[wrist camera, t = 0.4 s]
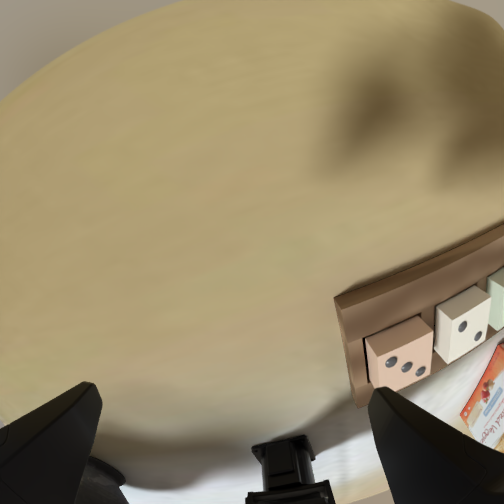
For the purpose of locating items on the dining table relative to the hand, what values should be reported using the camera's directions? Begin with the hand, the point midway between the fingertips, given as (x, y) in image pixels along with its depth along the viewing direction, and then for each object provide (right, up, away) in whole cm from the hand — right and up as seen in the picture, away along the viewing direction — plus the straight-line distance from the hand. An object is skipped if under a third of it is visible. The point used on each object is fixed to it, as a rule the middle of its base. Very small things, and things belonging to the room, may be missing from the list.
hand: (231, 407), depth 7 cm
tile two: (+19, -1, +13) cm, 23 cm away
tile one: (+26, +1, +12) cm, 29 cm away
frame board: (+19, -1, +14) cm, 24 cm away
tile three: (+13, -4, +13) cm, 19 cm away
